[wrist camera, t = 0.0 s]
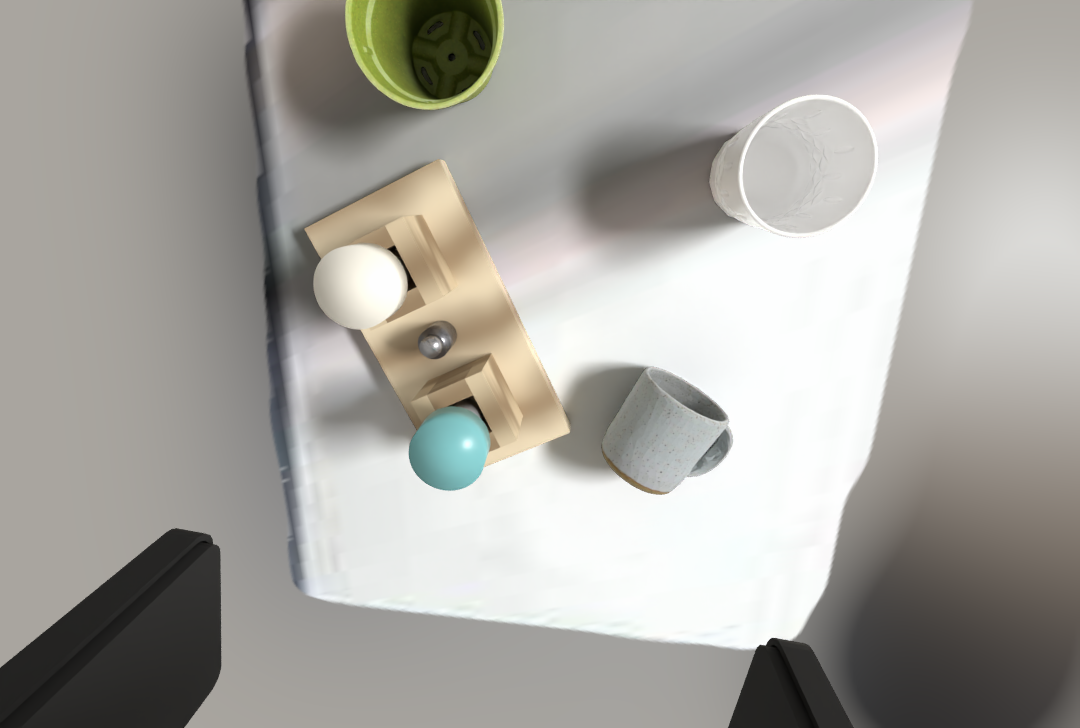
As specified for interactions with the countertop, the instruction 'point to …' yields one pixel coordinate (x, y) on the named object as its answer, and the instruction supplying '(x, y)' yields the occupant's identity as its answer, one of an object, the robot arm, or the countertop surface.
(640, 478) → the ceramic mug
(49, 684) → the robot arm
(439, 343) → the grey metal peg
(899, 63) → the countertop surface
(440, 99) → the plant pot
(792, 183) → the white cup
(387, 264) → the ivory knob
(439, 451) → the teal knob
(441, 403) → the mount
